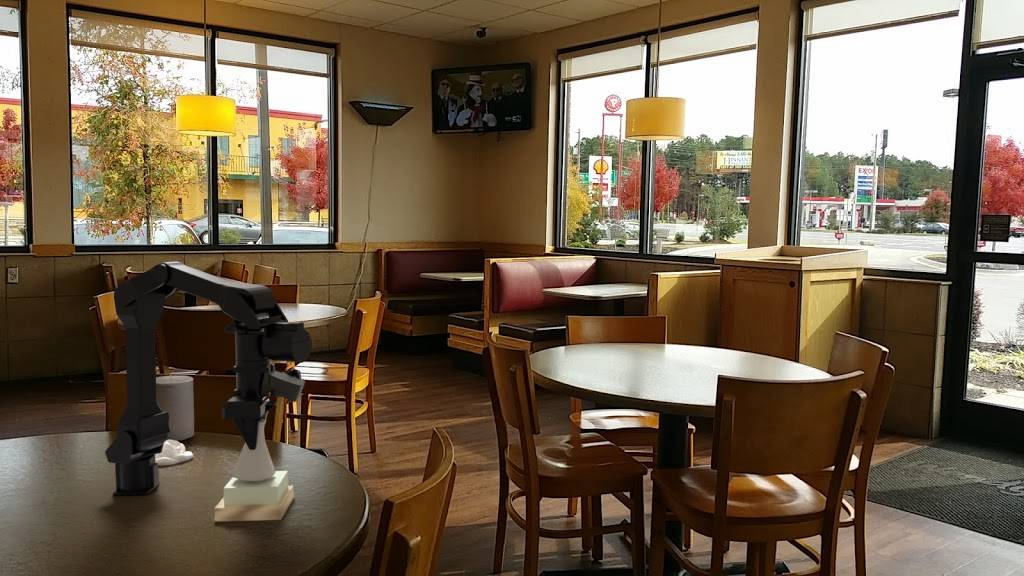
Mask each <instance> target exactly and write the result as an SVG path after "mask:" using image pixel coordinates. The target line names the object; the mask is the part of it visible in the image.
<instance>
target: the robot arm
mask: <svg viewBox="0 0 1024 576" xmlns="http://www.w3.org/2000/svg"><path fill="white" fill-rule="evenodd" d="M176 290H178V291H181V292H184V293H187V294H190V295H191V296H195V297H197V298H200V299H202V300H205V301H208V302H211V303H214V304H216V305H217V306H218V307H219V309H220V310H221V311H222V312H223V313H224V314H226V315H227V316H229V317H230V318H232V321H231V323H230V324H228V325H227V326H226V327H225V328H224V332H225V333H234V335H235V336H234V338H235V340H234V341H235V365H234V366H233V367H232V373H233V374H235V375H236V376H235V377H236V378H235V382H236V385H235V386H236V388H235V389H234V390H233V396H232V397H231V398H229V399H228V400H227V401H226V403H224V404H223V405H222V406H221V418H222V419H224V420H226V419H230V420H232V421H233V422H234V424H235V426H236V428H237V429H238V431H239V433H240V434H241V435H240V436H241V437H242V438H243V440H244V443H245V442H246V444H247V446H248V448H249V450H255V449H256V446H257V441H258V434H259V427H260V421H261V419H265V420H266V421H267V417H268V414H269V412H270V411H271V410H272V409H273V408H274V407H275V406H276V405H277V403H278V401H276V400H270V398H269V397H270V396H272V395H273V396H275V398H280V399H281V398H283V399H286V401H288V402H291V403H292V402H293V403H296V402H297V401H298V399H300V397H301V394H302V391H303V389H304V387H305V383H306V381H305V379H304V378H302V373H301V370H299V369H296V368H291V369H290V370H288V372H284V371H282V372H281V371H277V370H276V367H275V366H276V364H275V363H274V362H273V361H277V362H289V363H304V362H306V360H308V359H309V357H310V355H311V353H312V348H313V340H312V339H311V336H310V333H309V332H308V331H307V330H306V329H305V323H304V322H302V321H296V322H295V321H294V322H290V321H289V319H288V318H287V317H286V315H285V313H284V311H283V310H282V308H281V307H280V305H279V304H278V302H277V300H276V298H275V296H274V294H273V290H272V289H271V288H269V287H267V286H266V285H261V284H255V283H254V284H253V283H243V282H234V281H232V282H231V281H229V280H226V279H224V278H221V277H218V276H215V275H213V274H211V273H208V272H205V271H202V270H199V269H196V268H193V267H191V266H188V265H185V264H184V263H182V262H180V261H166V262H165V261H162V262H159V263H157V264H155V265H154V266H152V267H151V268H150V269H148V270H146V271H144V272H141V273H140V274H138V275H135V276H134V277H131V278H130V279H128V280H123V281H120V282H119V284H118V285H117V286H116V287H115V288H114V291H113V300H114V301H113V302H114V308H115V313H116V316H117V318H118V319H119V321H120V322H121V324H122V325H123V326H124V328H125V329H124V330H125V352H126V354H125V356H126V357H125V358H126V359H125V360H126V361H125V362H126V363H125V364H126V365H125V366H126V403H127V404H126V407H125V408H124V411H123V413H122V415H121V416H120V418H119V419H118V425H117V434H116V438H115V439H114V440H113V441H112V442H111V443H110V445H108V447H107V448H106V450H105V452H104V453H105V456H106V460H107V463H110V464H114V466H115V468H114V470H115V472H114V473H115V489H114V490H113V491H112V492H111V494H112V495H113V496H121V495H122V496H123V495H130V496H131V495H148V494H150V493H151V492H152V491H153V490H154V489H155V488H156V487H158V486H159V485H160V475H159V466H158V463H155V454H159V453H161V452H162V449H163V445H164V442H165V441H166V440H167V435H168V433H170V429H169V413H168V412H162V410H161V409H160V407H159V406H158V404H157V401H156V378H157V366H156V364H157V362H156V361H157V360H156V351H157V350H156V326H157V325H158V323H159V321H160V318H161V317H162V315H163V313H164V309H165V299H167V298H168V297H170V296H171V295H172V294H174V293H175V292H176ZM265 425H266V423H265V424H264V427H265Z"/></svg>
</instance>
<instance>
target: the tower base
mask: <svg viewBox="0 0 1024 576" xmlns="http://www.w3.org/2000/svg"><path fill="white" fill-rule="evenodd" d="M294 490H295V489H294V485H288V488H287V490H286V491H285V493H284V495H283V496H282V498H281V500H280V502H279V503H278V504H259V505H224V496H223V497H222V499H221V500H220V501H219V502H218V503H217V504H216V505H215V507H214V510H213V511H214V522H239V521H241V522H243V521H244V522H245V521H281V520H282V519H283V517H284V515H285V514H286V513H287V510H288V508H289V507H290V505H291V503H292V502H293V500H294V498H295V496H294V495H295V493H294Z"/></svg>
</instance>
